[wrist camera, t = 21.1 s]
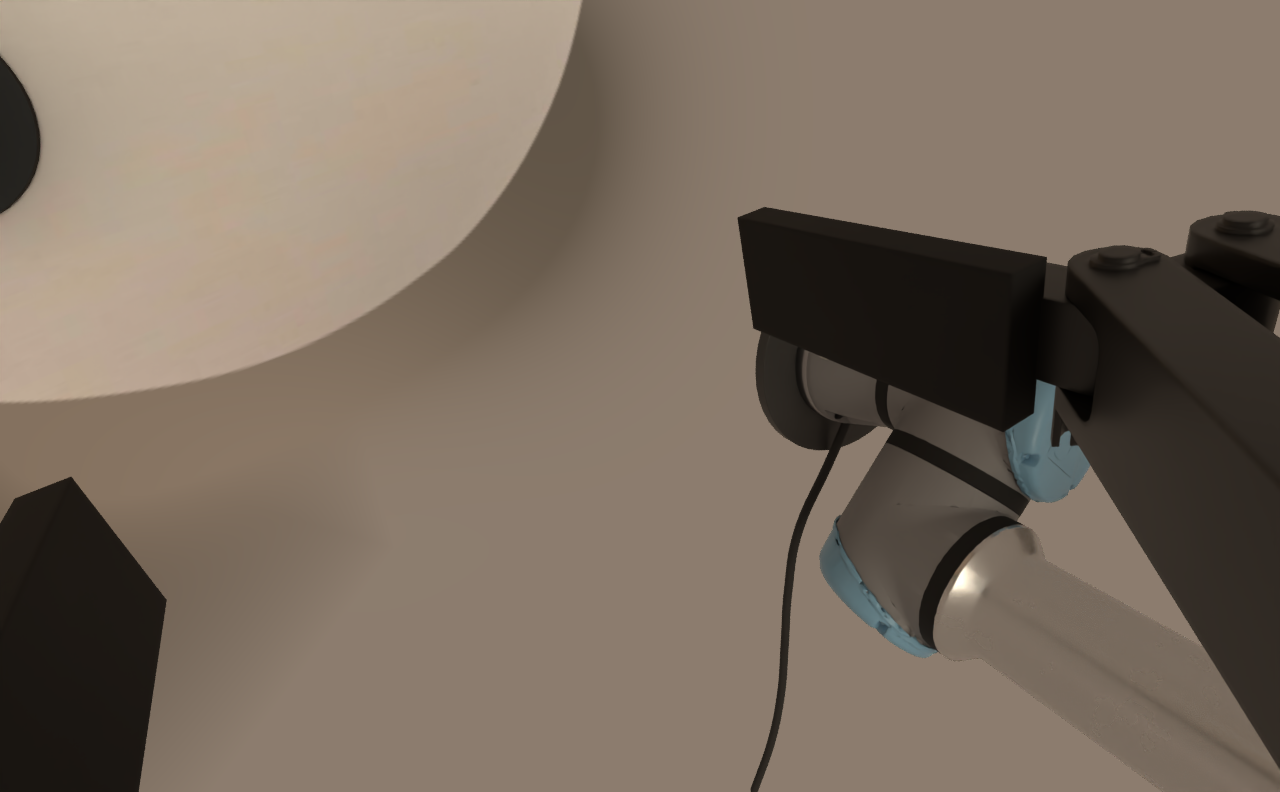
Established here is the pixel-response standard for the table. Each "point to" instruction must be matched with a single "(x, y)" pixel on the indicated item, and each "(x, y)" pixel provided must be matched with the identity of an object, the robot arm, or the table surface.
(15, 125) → the black round coaster
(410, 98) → the table surface
